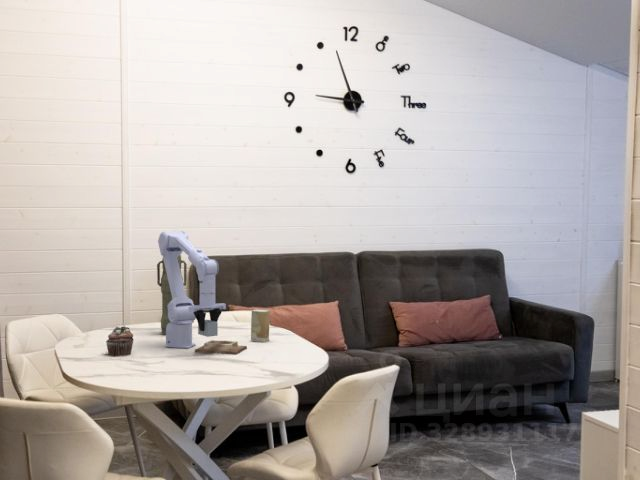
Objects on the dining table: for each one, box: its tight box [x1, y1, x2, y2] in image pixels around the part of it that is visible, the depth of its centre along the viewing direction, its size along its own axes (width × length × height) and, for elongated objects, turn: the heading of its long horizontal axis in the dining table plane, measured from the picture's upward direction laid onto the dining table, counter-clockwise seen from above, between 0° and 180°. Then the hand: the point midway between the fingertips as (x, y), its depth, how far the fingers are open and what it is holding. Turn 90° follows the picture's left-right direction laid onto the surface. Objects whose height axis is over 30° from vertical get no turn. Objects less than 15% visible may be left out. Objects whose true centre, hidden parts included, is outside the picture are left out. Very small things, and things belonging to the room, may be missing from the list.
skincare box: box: [250, 309, 271, 343], centre depth 336 cm, size 6×4×12 cm
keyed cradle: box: [194, 339, 248, 355], centre depth 315 cm, size 16×12×3 cm
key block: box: [197, 319, 219, 338], centre depth 310 cm, size 4×7×5 cm, turn 38°
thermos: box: [156, 254, 188, 336], centre depth 350 cm, size 9×12×35 cm
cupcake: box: [105, 325, 134, 357], centre depth 307 cm, size 10×10×10 cm
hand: (207, 330), depth 310 cm, fingers closed on key block, 4 cm apart
